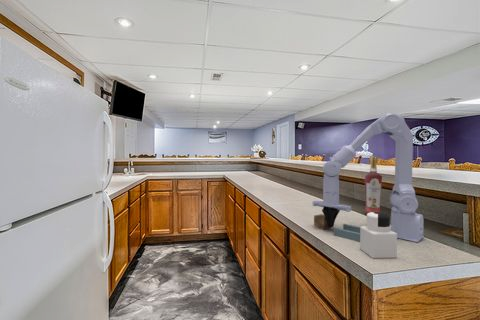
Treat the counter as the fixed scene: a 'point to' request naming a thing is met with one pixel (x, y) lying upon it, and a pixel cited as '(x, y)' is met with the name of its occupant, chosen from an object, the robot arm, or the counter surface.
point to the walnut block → (320, 222)
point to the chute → (348, 232)
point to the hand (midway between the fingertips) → (330, 227)
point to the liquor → (373, 188)
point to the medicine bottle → (378, 236)
